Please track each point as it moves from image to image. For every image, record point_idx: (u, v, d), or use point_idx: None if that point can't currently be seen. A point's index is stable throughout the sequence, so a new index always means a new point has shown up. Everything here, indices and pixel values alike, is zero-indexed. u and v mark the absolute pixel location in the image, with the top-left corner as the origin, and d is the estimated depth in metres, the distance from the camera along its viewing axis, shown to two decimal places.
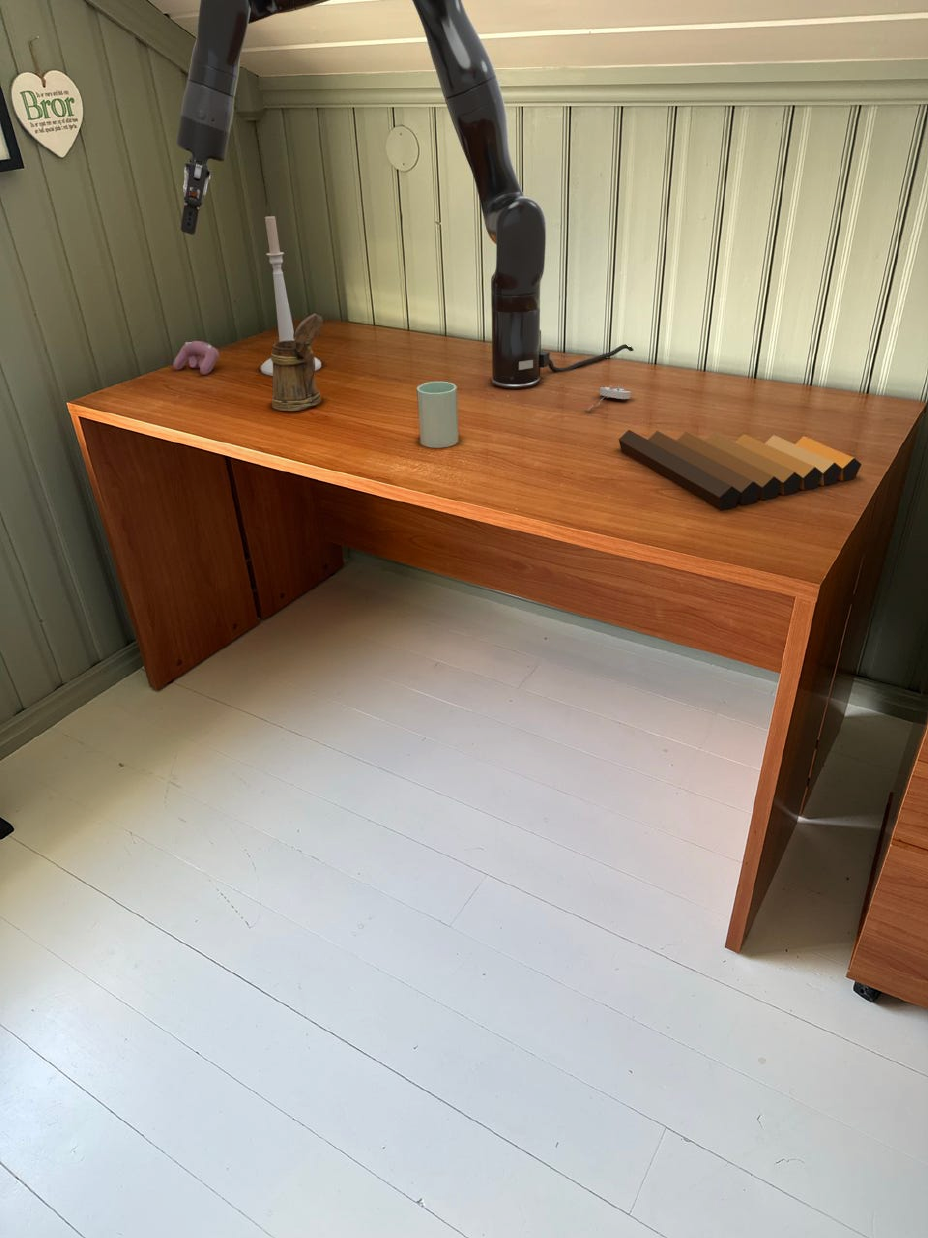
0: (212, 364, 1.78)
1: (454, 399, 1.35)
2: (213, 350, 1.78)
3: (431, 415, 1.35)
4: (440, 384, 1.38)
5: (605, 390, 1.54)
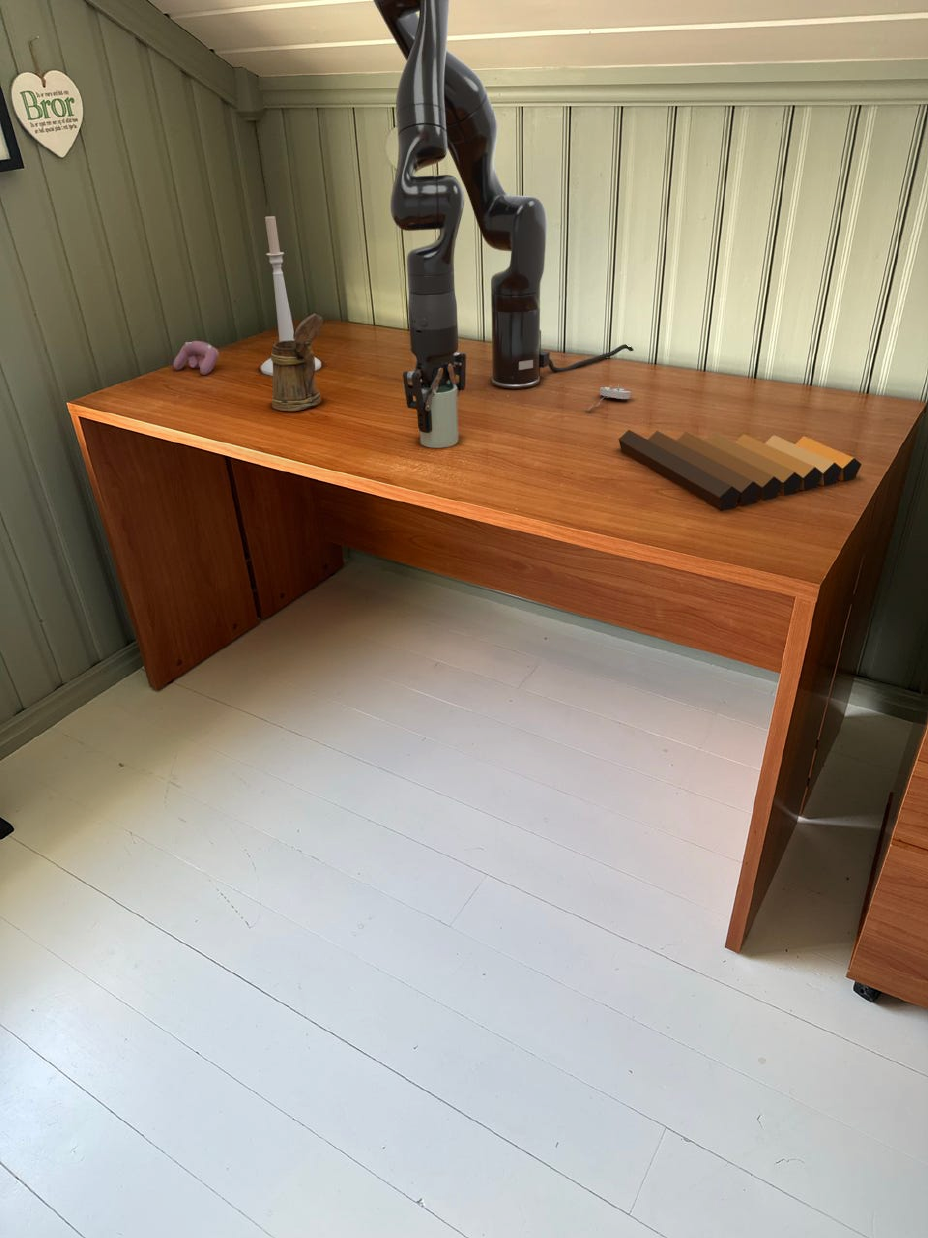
0: (212, 364, 1.78)
1: (454, 399, 1.35)
2: (213, 350, 1.78)
3: None
4: None
5: (605, 390, 1.54)
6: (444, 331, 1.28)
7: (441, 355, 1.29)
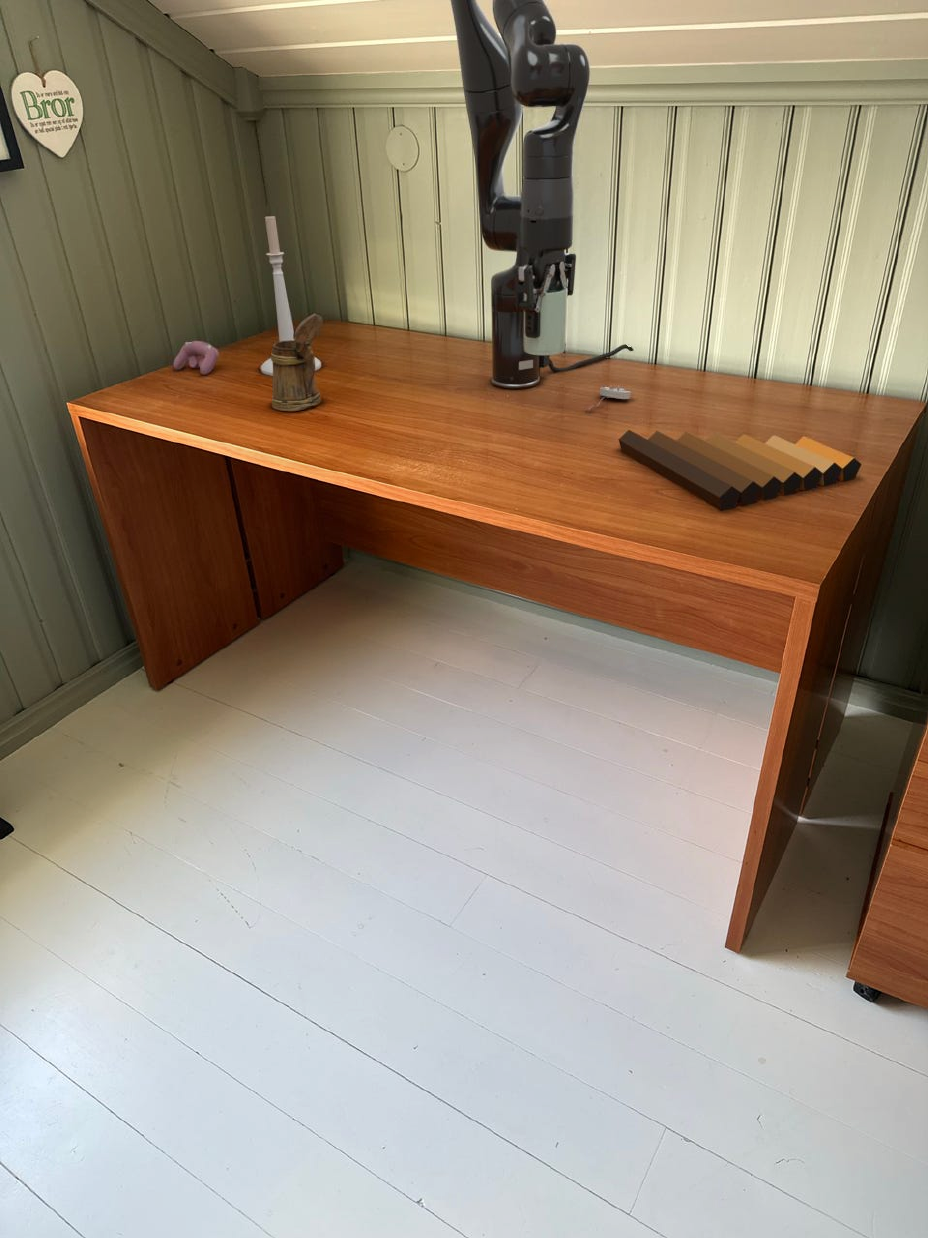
0: (212, 364, 1.78)
1: (565, 301, 1.25)
2: (213, 350, 1.78)
3: (540, 318, 1.25)
4: None
5: (605, 390, 1.54)
6: (561, 221, 1.18)
7: (556, 248, 1.20)
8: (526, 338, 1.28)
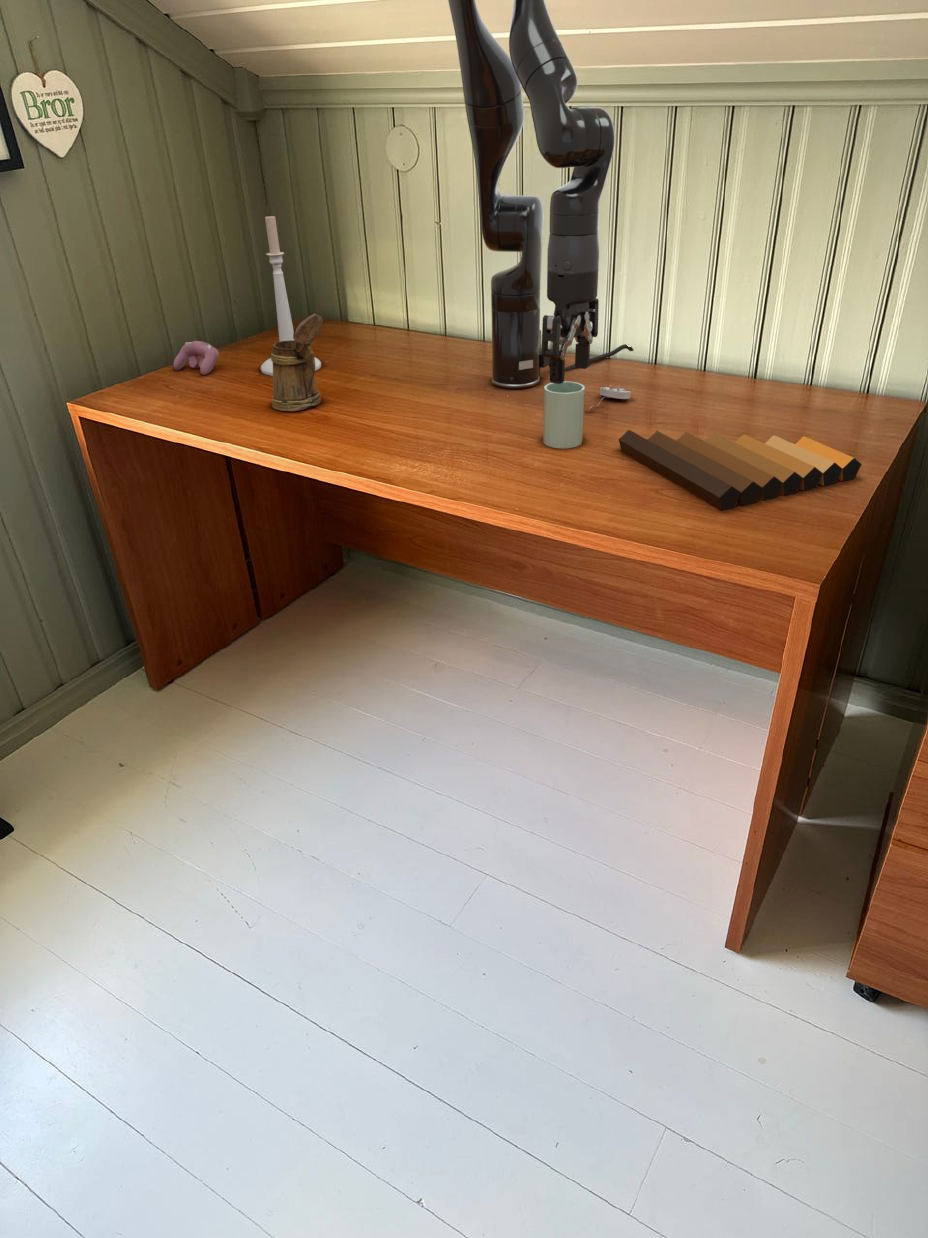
0: (212, 364, 1.78)
1: (582, 399, 1.33)
2: (213, 350, 1.78)
3: (559, 415, 1.33)
4: (565, 384, 1.36)
5: (605, 390, 1.54)
6: (587, 275, 1.22)
7: (583, 301, 1.23)
8: (546, 432, 1.36)
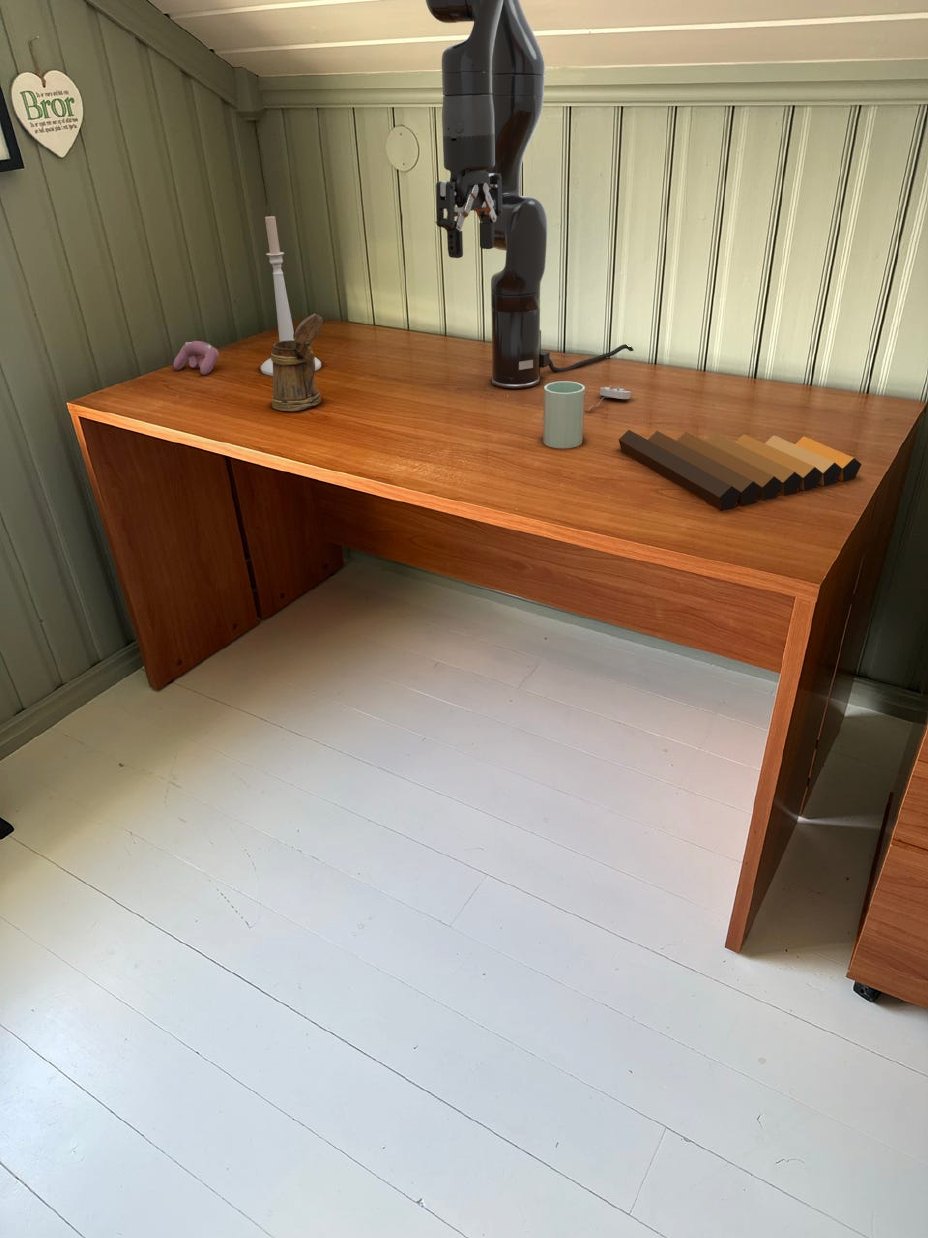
0: (212, 364, 1.78)
1: (582, 399, 1.33)
2: (213, 350, 1.78)
3: (559, 415, 1.33)
4: (565, 384, 1.36)
5: (605, 390, 1.54)
6: (481, 139, 1.19)
7: (477, 167, 1.20)
8: (546, 432, 1.36)
